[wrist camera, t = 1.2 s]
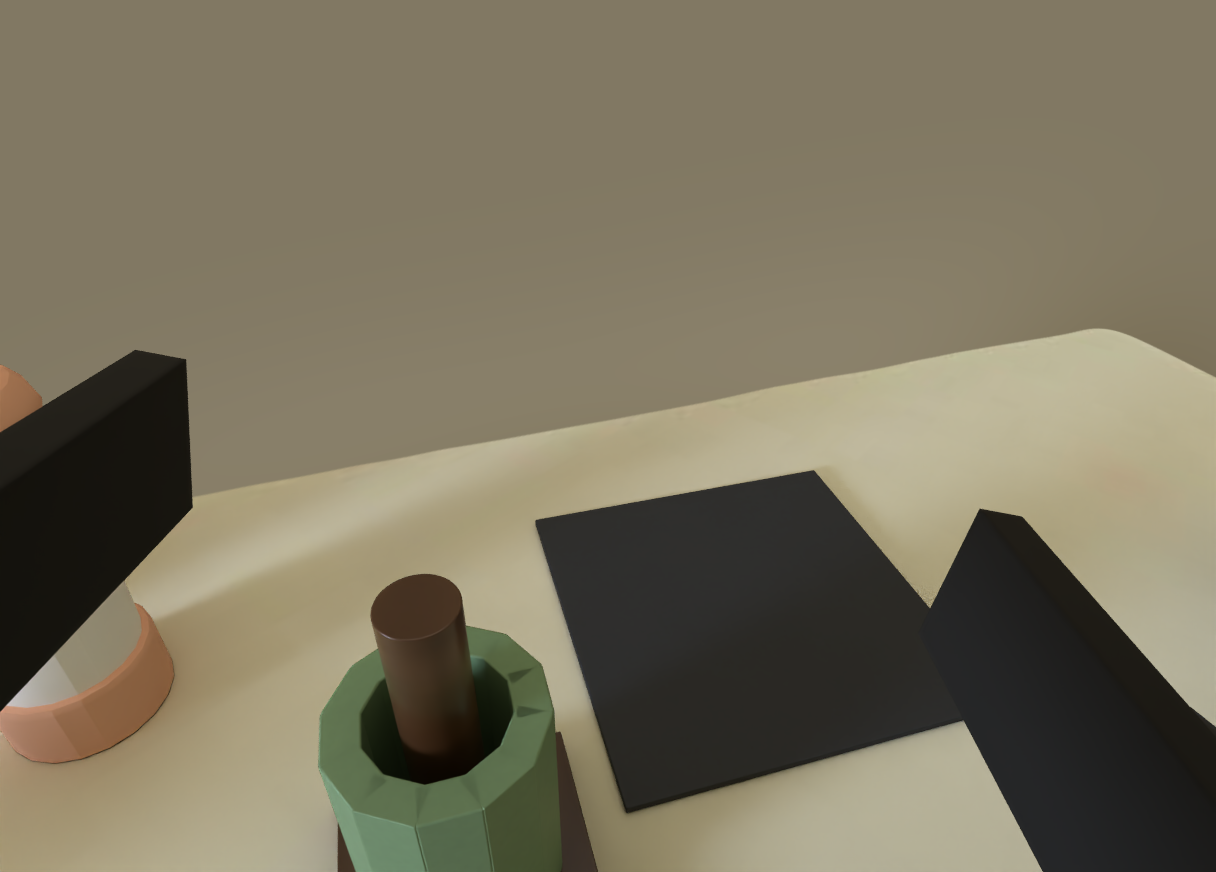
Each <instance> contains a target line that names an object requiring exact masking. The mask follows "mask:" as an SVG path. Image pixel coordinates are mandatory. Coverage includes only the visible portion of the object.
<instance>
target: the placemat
mask: <svg viewBox="0 0 1216 872" xmlns="http://www.w3.org/2000/svg"><path fill="white" fill-rule="evenodd" d="M536 527H537V530H538V533H539V536H540V540H541V543H542V546H543V549H544V552H545V556H546V559H547V562H548V565H549V568H550V572H551V575H552V578H553V581H554V584H555V587H556V591H557V594H558V597H559V600H560V603H561V607H562V610H563V613H564V616H565V619H566V623H567V626H568V629H569V632H570V635H571V638H572V642H573V645H574V648H575V651H576V654H577V658H578V661H579V664H580V667H581V670H582V674H583V677H584V680H585V683H586V686H587V689H588V693H589V696H590V699H591V702H592V705H593V709H594V712H595V715H596V718H597V721H598V725H599V728H600V731H601V734H602V737H603V740H604V744H605V747H606V750H607V753H608V756H609V760H610V763H611V766H612V769H613V772H614V776H615V779H616V782H617V785H618V788H619V791H620V795H621V798H622V801H623V804H624V807H625V811H626V813H628V812H632V811H635V810H639V809H643V808H646V807H650V806H653V805H657V804H661V803H664V802H668V801H672V800H675V799H679V798H682V797H686V796H690V795H693V794H697V793H700V792H704V791H708V790H711V789H715V788H719V787H722V786H726V785H729V784H733V783H737V782H740V781H744V780H748V779H751V778H755V777H758V776H762V775H766V774H769V773H773V772H777V771H780V770H784V769H787V768H791V767H795V766H798V765H802V764H805V763H809V762H813V761H816V760H820V759H824V758H827V757H831V756H834V755H838V754H842V753H845V752H849V751H853V750H856V749H860V748H863V747H867V746H871V745H874V744H878V743H882V742H885V741H889V740H892V739H896V738H900V737H903V736H907V735H910V734H914V733H918V732H921V731H925V730H929V729H932V728H936V727H939V726H943V725H947V724H950V723H954V722H958V721H961V720H963V718H962V716H961V714H960V712H959V710H958V708H957V706H956V705H955V703H954V701H953V699H952V697H951V695H950V693H949V691H948V689H947V687H946V685H945V683H944V682H943V680H942V678H941V676H940V674H939V672H938V670H937V668H936V666H935V664H934V662H933V661H932V659H931V657H930V655H929V653H928V651H927V649H926V647H925V645H924V643H923V641H922V639H921V638H920V636H919V634H918V632H919V630H920V628H921V626H922V624H923V622H924V620H925V618H926V616H927V614H928V612H929V610H930V608H929V607H928V606H927V604H926V603H925V602H924V601H923V600H922V598H921V597H920V596H919V595H918V594H917V593H916V591H915V590H914V589H913V588H912V587H911V585H910V584H909V583H908V582H907V581H906V579H905V578H904V577H903V576H902V575H901V573H900V572H899V571H898V570H897V569H896V568H895V566H894V565H893V564H892V563H891V562H890V560H889V559H888V558H887V557H886V556H885V554H884V553H883V552H882V551H881V550H880V548H879V547H878V546H877V545H876V544H875V542H874V541H873V540H872V539H871V538H870V537H869V535H868V534H867V533H866V532H865V531H864V529H863V528H862V527H861V526H860V525H859V523H858V522H857V521H856V520H855V519H854V517H853V516H852V515H851V514H850V513H849V512H848V510H847V509H846V508H845V507H844V506H843V504H842V503H841V502H840V501H839V500H838V498H837V497H836V496H835V495H834V494H833V492H832V491H831V490H830V489H829V488H828V487H827V485H826V484H825V483H824V482H823V481H822V479H821V478H820V477H819V476H818V475H817V473H816V472H815V471H814V470H813V471H807V472H802V473H796V474H790V475H785V476H779V477H774V478H768V479H762V480H757V481H751V482H746V483H740V484H734V485H729V486H723V487H718V488H712V489H707V490H701V491H695V492H690V493H684V494H679V495H673V496H667V497H662V498H656V499H651V500H645V501H639V502H634V503H628V504H623V505H617V506H611V507H606V508H600V509H595V510H589V511H583V512H578V513H572V514H567V515H561V516H556V517H550V518H544V519H539V520H536Z"/></svg>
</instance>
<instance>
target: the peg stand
mask: <svg viewBox="0 0 1216 872" xmlns="http://www.w3.org/2000/svg"><path fill="white" fill-rule="evenodd" d="M371 622H372V626H373V630H374V634H375V638H376V642H377V646H378V650H379V654H380V658H381V662H382V666H383V671H384V675H385V679H386V683H387V687H388V691H389V695H390V699H391V703H392V707H393V711H394V715H395V719H396V723H397V728H398V732H399V736H400V740H401V744H402V748H403V752H404V756H405V760H406V764H407V768H408V772H409V776H410V780H411V782H415V783H419V784H423V785H426V784H430V783H434V782H438V781H442V780H446V779H450V778H454V777H458V776H462V775H466V774H467V773H468V772H469V771H471V770H472V769H473V768H474V767H475V766H477V765H478V764H479V763H480V762H481V761H483V760H484V759H485V754H484V747H483V741H482V734H481V727H480V720H479V713H478V706H477V699H476V692H475V685H474V678H473V671H472V664H471V657H470V651H469V644H468V637H467V630H466V623H465V616H464V609H463V602H462V596H461V593H460V591H459V589H458V588H457V587H456V585H455V584H453V583H452V582H451V581H450V580H448V579H446V578H444V577H441V576H437V575H432V574H418V575H412V576H408V577H405V578H402V579H399V580H397V581H395V582H393V583H392V584H390V585H389V586H387V587H386V588H385V589H383V590H382V591H381V592H380V593H379V595H378V596H377V597H376V599H375V601H374V603H373V605H372V608H371ZM555 735H556V754H557V772H558V791H559V809H560V828H561V847H562V869H561V872H598V870H597V866H596V863H595V859H594V855H593V851H592V848H591V844H590V840H589V836H588V832H587V829H586V825H585V821H584V817H583V814H582V810H581V806H580V802H579V798H578V795H577V791H576V787H575V783H574V780H573V776H572V772H571V768H570V765H569V761H568V757H567V753H566V749H565V746H564V742H563V738H562V734H561V732H556V733H555ZM338 872H356V871H355V868H354V865H353V862H352V860H351V857H350V854H349V851H348V849H347V846H346V843H345V840H344V837H343V835H342V832H341V829H340V826H339V824H338Z"/></svg>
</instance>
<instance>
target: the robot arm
mask: <svg viewBox="0 0 1216 872" xmlns="http://www.w3.org/2000/svg"><path fill="white" fill-rule="evenodd" d="M192 508H193V504H192V481H191V459H190V437H189V414H188V391H187V370H186V359H181V358H175V357H170V356H165V355H160V354H155V353H149V352H144V351H138V350H134V351H133V352H131V353H130V354H128V355H126V356H125V357H123V358H122V359H120V360H118V361H116V362H115V363H113V364H112V365H110V366H108V367H107V368H105V369H103V370H102V371H100V372H98V373H97V374H95V375H94V376H92V377H90V378H89V379H87V380H85V381H84V382H82V383H80V384H79V385H77V386H75V387H74V388H72V389H71V390H69V391H67V392H66V393H64V394H62V395H61V396H59V397H57V398H56V399H54V400H52V401H51V402H49V403H48V404H46V405H44V406H43V407H41V408H39V409H38V410H36V411H34V412H33V413H31V414H29V415H28V416H26V417H24V418H23V419H21V420H20V421H18V422H16V423H15V424H13V425H11V426H10V427H8V428H6V429H5V430H3V431H1V432H0V712H1V711H2V710H3V709H4V707H5V706H6V705H7V704H8V703H9V702H10V701H11V700H12V699H13V698H14V697H15V696H16V695H17V694H18V693H19V692H20V690H21V689H22V688H23V687H24V686H25V685H26V684H27V683H28V682H29V681H30V680H31V679H32V678H33V677H34V676H35V675H36V673H37V672H38V671H39V670H40V669H41V668H42V667H43V666H44V665H45V664H46V663H47V662H48V661H49V660H50V659H51V658H52V656H53V655H54V654H55V653H56V652H57V651H58V650H59V649H60V648H61V647H62V646H63V645H64V644H65V643H66V642H67V641H68V639H69V638H70V637H71V636H72V635H73V634H74V633H75V632H76V631H77V630H78V629H79V628H80V627H81V626H82V625H83V624H84V622H85V621H86V620H87V619H88V618H89V617H90V616H91V615H92V614H93V613H94V612H95V611H96V610H97V609H98V608H99V607H100V605H101V604H102V603H103V602H104V601H105V600H106V599H107V598H108V597H109V596H110V595H111V594H112V593H113V592H114V591H115V590H116V588H117V587H118V586H119V585H120V584H121V583H122V582H123V581H124V580H125V579H126V578H127V577H128V576H129V575H130V574H131V573H132V571H133V570H134V569H135V568H136V567H137V566H138V565H139V564H140V563H141V562H142V561H143V560H144V559H145V558H146V557H147V556H148V554H149V553H150V552H151V551H152V550H153V549H154V548H155V547H156V546H157V545H158V544H159V543H160V542H161V541H162V540H163V539H164V537H165V536H166V535H167V534H168V533H169V532H170V531H171V530H172V529H173V528H174V527H175V526H176V525H177V524H178V523H179V522H180V520H181V519H182V518H183V517H184V516H185V515H186V514H187V513H188V512H189V511H190V510H191V509H192ZM918 634H919V636H920V638H921V639H922V641H923V643H924V645H925V647H926V649H927V651H928V653H929V655H930V657H931V659H932V661H933V662H934V664H935V666H936V668H937V670H938V672H939V674H940V676H941V678H942V680H943V682H944V683H945V685H946V687H947V689H948V691H949V693H950V695H951V697H952V699H953V701H954V703H955V705H956V706H957V708H958V710H959V712H960V714H961V716H962V718H963V720H964V722H965V724H966V726H967V727H968V729H969V731H970V733H971V735H972V737H973V739H974V741H975V743H976V745H977V747H978V749H979V750H980V752H981V754H982V756H983V758H984V760H985V762H986V764H987V766H988V768H989V770H990V771H991V773H992V775H993V777H994V779H995V781H996V783H997V785H998V787H999V789H1000V791H1001V793H1002V794H1003V796H1004V798H1005V800H1006V802H1007V804H1008V806H1009V808H1010V810H1011V812H1012V814H1013V815H1014V817H1015V819H1016V821H1017V823H1018V825H1019V827H1020V829H1021V831H1022V833H1023V835H1024V837H1025V838H1026V840H1027V842H1028V844H1029V846H1030V848H1031V850H1032V852H1033V854H1034V856H1035V858H1036V859H1037V861H1038V863H1039V865H1040V867H1041V869H1042V871H1043V872H1216V727H1215V726H1214V725H1213V724H1211V723H1210V722H1209V721H1207V720H1206V719H1205V718H1204V717H1202V716H1201V715H1200V714H1199V713H1197V712H1196V711H1195V710H1194V709H1192V708H1191V707H1189V706H1188V704H1187V703H1186V702H1185V701H1184V700H1183V699H1182V698H1181V696H1180V695H1179V694H1178V693H1177V692H1176V691H1175V690H1174V688H1173V687H1172V686H1171V685H1170V684H1169V683H1168V682H1167V681H1166V679H1165V678H1164V677H1163V676H1162V675H1161V674H1160V673H1159V671H1158V670H1157V669H1156V668H1155V667H1154V666H1153V665H1152V664H1151V662H1150V661H1149V660H1148V659H1147V658H1146V657H1145V656H1144V654H1143V653H1142V652H1141V651H1140V650H1139V649H1138V648H1137V647H1136V645H1135V644H1134V643H1133V642H1132V641H1131V640H1130V639H1129V637H1128V636H1127V635H1126V634H1125V633H1124V632H1123V631H1122V629H1121V628H1120V627H1119V626H1118V625H1117V624H1116V623H1115V622H1114V620H1113V619H1112V618H1111V617H1110V616H1109V615H1108V614H1107V612H1106V611H1105V610H1104V609H1103V608H1102V607H1101V606H1100V605H1099V603H1098V602H1097V601H1096V600H1095V599H1094V598H1093V597H1092V595H1091V594H1090V593H1089V592H1088V591H1087V590H1086V589H1085V587H1084V586H1083V585H1082V584H1081V583H1080V582H1079V581H1078V580H1077V578H1076V577H1075V576H1074V575H1073V574H1072V573H1071V572H1070V570H1069V569H1068V568H1067V567H1066V566H1065V565H1064V564H1063V563H1062V561H1061V560H1060V559H1059V558H1058V557H1057V556H1056V555H1055V553H1054V552H1053V551H1052V550H1051V549H1050V548H1049V547H1048V545H1047V544H1046V543H1045V542H1044V541H1043V540H1042V539H1041V538H1040V536H1039V535H1038V534H1037V533H1036V532H1035V531H1034V530H1033V528H1032V527H1031V526H1030V525H1029V524H1028V523H1027V522H1026V521H1025V519H1024V518H1023V517H1021V516H1016V515H1011V514H1005V513H1000V512H995V511H989V510H984V509H979V511H978V513H977V515H976V517H975V519H974V521H973V523H972V525H971V527H970V529H969V531H968V533H967V535H966V537H965V540H964V542H963V544H962V546H961V548H960V550H959V552H958V554H957V556H956V558H955V560H954V562H953V564H952V566H951V568H950V570H949V572H948V574H947V576H946V578H945V580H944V582H943V584H942V586H941V588H940V590H939V592H938V594H937V596H936V598H935V600H934V602H933V604H932V606H931V608H930V610H929V612H928V614H927V616H926V618H925V620H924V622H923V624H922V626H921V628H920V630H919V632H918Z"/></svg>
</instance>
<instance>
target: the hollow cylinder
mask: <svg viewBox="0 0 1216 872" xmlns="http://www.w3.org/2000/svg"><path fill="white" fill-rule="evenodd" d="M466 630H467V637H468V644H469V651H470V657H471V664H472V671H473V678H474V685H475V692H476V699H477V706H478V713H479V720H480V727H481V734H482V741H483V747H484V754H485V759H484V760H483V761H481V762H480V763H479V764H478V765H477V766H475V767H474V768H473V769H472V770H471V771H469V772H468V773H467V774H466V775H462V776H458V777H454V778H450V779H446V780H442V781H438V782H434V783H430V784H426V785H423V784H419V783H415V782H411V780H410V776H409V772H408V768H407V764H406V760H405V756H404V752H403V748H402V744H401V740H400V736H399V732H398V728H397V723H396V719H395V715H394V711H393V707H392V703H391V699H390V695H389V691H388V687H387V683H386V679H385V675H384V671H383V666H382V662H381V658H380V654H379V650H378V649H377V650H375V651H374V652H372V653H371V654H369V655H368V656H366V657H364V658H363V659H361V660H360V661H358V662H357V663H355V664H354V665H352V667H351V668H350V669H349V671H348V672H347V674H346V675H345V677H344V678H343V680H342V681H341V683H340V684H339V686H338V687H337V689H336V691H335V692H334V694H333V695H332V697H331V698H330V700H329V701H328V703H327V704H326V706H325V708H324V709H323V711H322V712H321V715H320V725H319V760H318V767H319V771H320V774H321V776H322V779H323V782H324V785H325V787H326V790H327V793H328V796H329V799H330V801H331V804H332V807H333V810H334V812H335V815H336V818H337V821H338V824H339V826H340V829H341V832H342V835H343V837H344V840H345V843H346V846H347V849H348V851H349V854H350V857H351V860H352V862H353V865H354V868H355V871H356V872H561V869H562V847H561V828H560V809H559V791H558V772H557V754H556V735H555V716H554V708H553V704H552V700H551V697H550V693H549V689H548V685H547V682H546V678H545V674H544V670H543V667H542V665H541V663H540V662H538V661H537V660H536V659H535V658H534V657H532V656H531V655H530V654H529V653H528V652H527V651H525V650H524V649H523V648H522V647H521V646H519V645H518V644H517V643H516V642H515V641H514V640H512V639H511V638H510V637H509V636H508V635H507V634H503V633H499V632H494V631H489V630H484V629H480V628H475V627H470V626H466Z"/></svg>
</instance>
